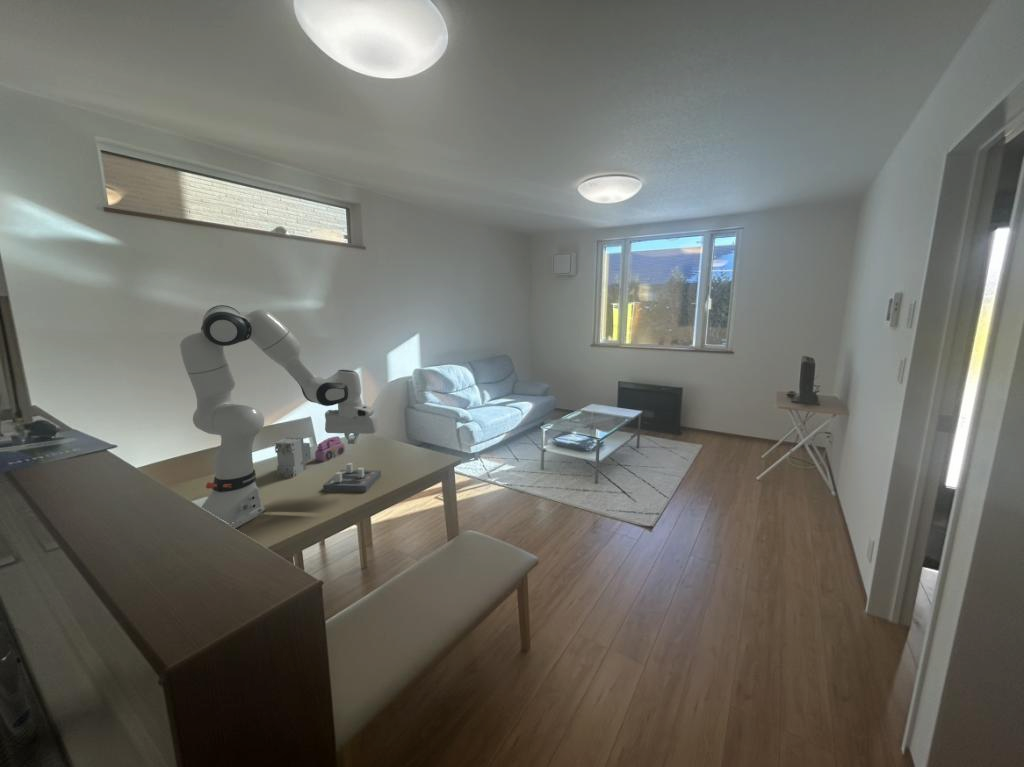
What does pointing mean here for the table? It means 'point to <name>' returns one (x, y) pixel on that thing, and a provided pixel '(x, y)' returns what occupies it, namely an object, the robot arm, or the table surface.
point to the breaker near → (338, 476)
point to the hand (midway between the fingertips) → (352, 443)
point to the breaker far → (349, 467)
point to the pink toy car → (329, 449)
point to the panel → (353, 481)
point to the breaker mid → (360, 472)
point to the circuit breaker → (292, 456)
